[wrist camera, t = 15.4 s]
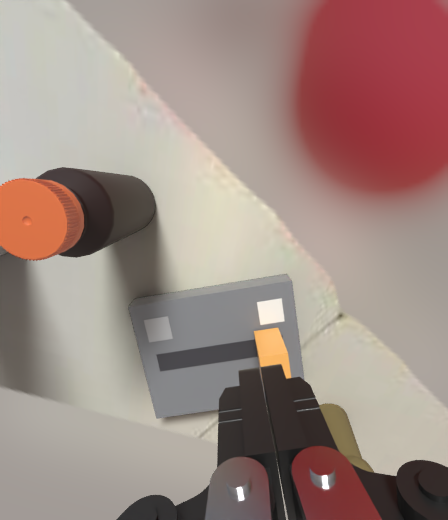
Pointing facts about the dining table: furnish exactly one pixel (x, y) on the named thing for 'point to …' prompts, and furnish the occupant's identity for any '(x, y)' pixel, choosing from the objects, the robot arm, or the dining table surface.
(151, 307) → the panel
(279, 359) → the knob
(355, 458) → the olive pawn
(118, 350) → the dining table surface
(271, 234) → the dining table surface
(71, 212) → the bottle
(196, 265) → the dining table surface
